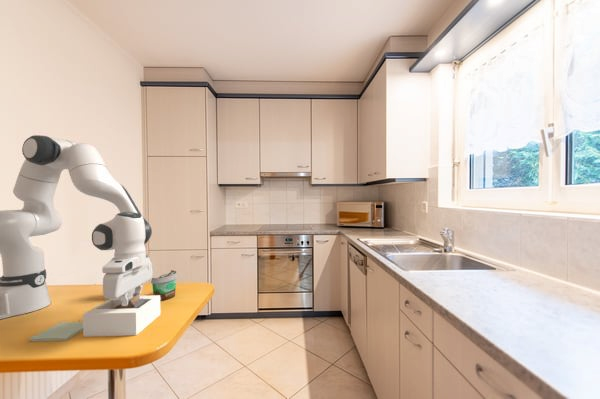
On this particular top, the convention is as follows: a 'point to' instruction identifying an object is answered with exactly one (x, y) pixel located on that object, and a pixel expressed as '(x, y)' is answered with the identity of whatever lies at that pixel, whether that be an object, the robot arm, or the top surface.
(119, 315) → the pocket jig
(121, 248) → the robot arm
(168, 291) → the food container
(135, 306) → the cradle
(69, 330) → the sage pad
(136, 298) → the walnut slab
